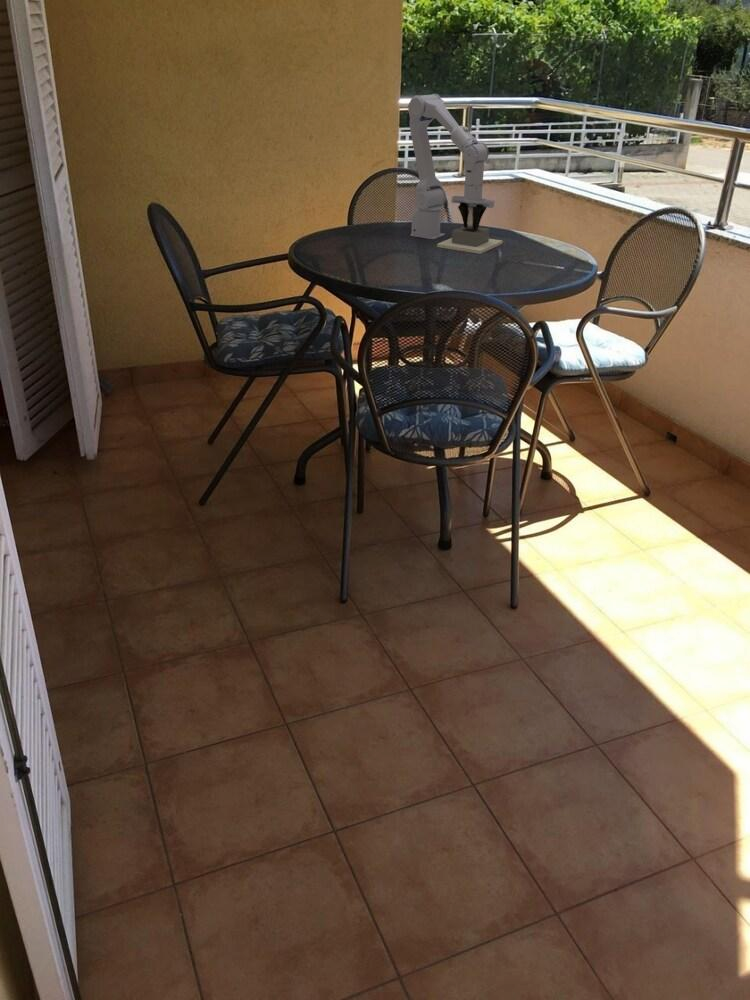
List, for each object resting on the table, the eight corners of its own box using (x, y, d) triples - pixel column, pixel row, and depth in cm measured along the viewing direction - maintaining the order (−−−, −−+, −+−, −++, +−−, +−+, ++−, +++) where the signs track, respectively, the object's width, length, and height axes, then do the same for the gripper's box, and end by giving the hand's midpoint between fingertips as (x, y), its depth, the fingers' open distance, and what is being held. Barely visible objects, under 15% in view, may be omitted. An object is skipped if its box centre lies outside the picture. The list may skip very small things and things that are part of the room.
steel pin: (464, 237, 273) (465, 205, 268) (468, 235, 276) (470, 204, 270) (472, 238, 272) (474, 207, 267) (476, 236, 274) (478, 205, 269)
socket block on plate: (437, 246, 273) (437, 231, 271) (460, 237, 285) (461, 222, 282) (480, 254, 266) (481, 238, 263) (502, 243, 277) (503, 228, 275)
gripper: (447, 183, 266) (445, 227, 273) (488, 188, 259) (485, 233, 266) (458, 180, 271) (456, 223, 278) (498, 185, 264) (495, 229, 271)
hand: (471, 227), depth 272 cm, fingers closed on steel pin, 3 cm apart
